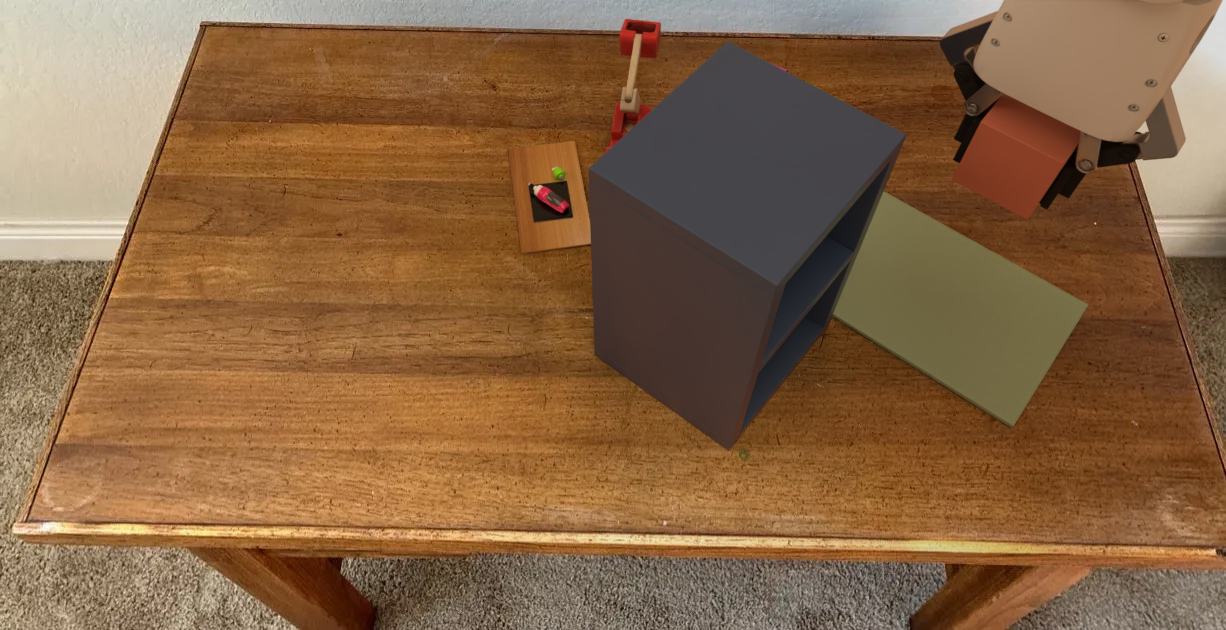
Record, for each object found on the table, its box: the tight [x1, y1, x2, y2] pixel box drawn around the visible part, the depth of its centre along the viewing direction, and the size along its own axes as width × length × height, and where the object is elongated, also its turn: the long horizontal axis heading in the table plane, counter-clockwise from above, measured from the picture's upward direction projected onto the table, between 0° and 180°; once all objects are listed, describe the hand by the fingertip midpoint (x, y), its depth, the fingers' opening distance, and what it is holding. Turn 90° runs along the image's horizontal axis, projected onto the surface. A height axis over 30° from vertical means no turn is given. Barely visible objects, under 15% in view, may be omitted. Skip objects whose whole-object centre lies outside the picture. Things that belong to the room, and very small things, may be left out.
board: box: [507, 140, 591, 255], centre depth 76 cm, size 6×12×2 cm, turn 9°
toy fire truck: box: [604, 18, 662, 154], centre depth 76 cm, size 3×14×10 cm, turn 171°
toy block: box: [951, 94, 1080, 220], centre depth 56 cm, size 6×6×6 cm
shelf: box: [588, 40, 907, 452], centre depth 60 cm, size 13×14×22 cm
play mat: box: [832, 190, 1089, 429], centre depth 71 cm, size 20×14×1 cm
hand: (1009, 170), depth 58 cm, fingers closed on toy block, 5 cm apart
